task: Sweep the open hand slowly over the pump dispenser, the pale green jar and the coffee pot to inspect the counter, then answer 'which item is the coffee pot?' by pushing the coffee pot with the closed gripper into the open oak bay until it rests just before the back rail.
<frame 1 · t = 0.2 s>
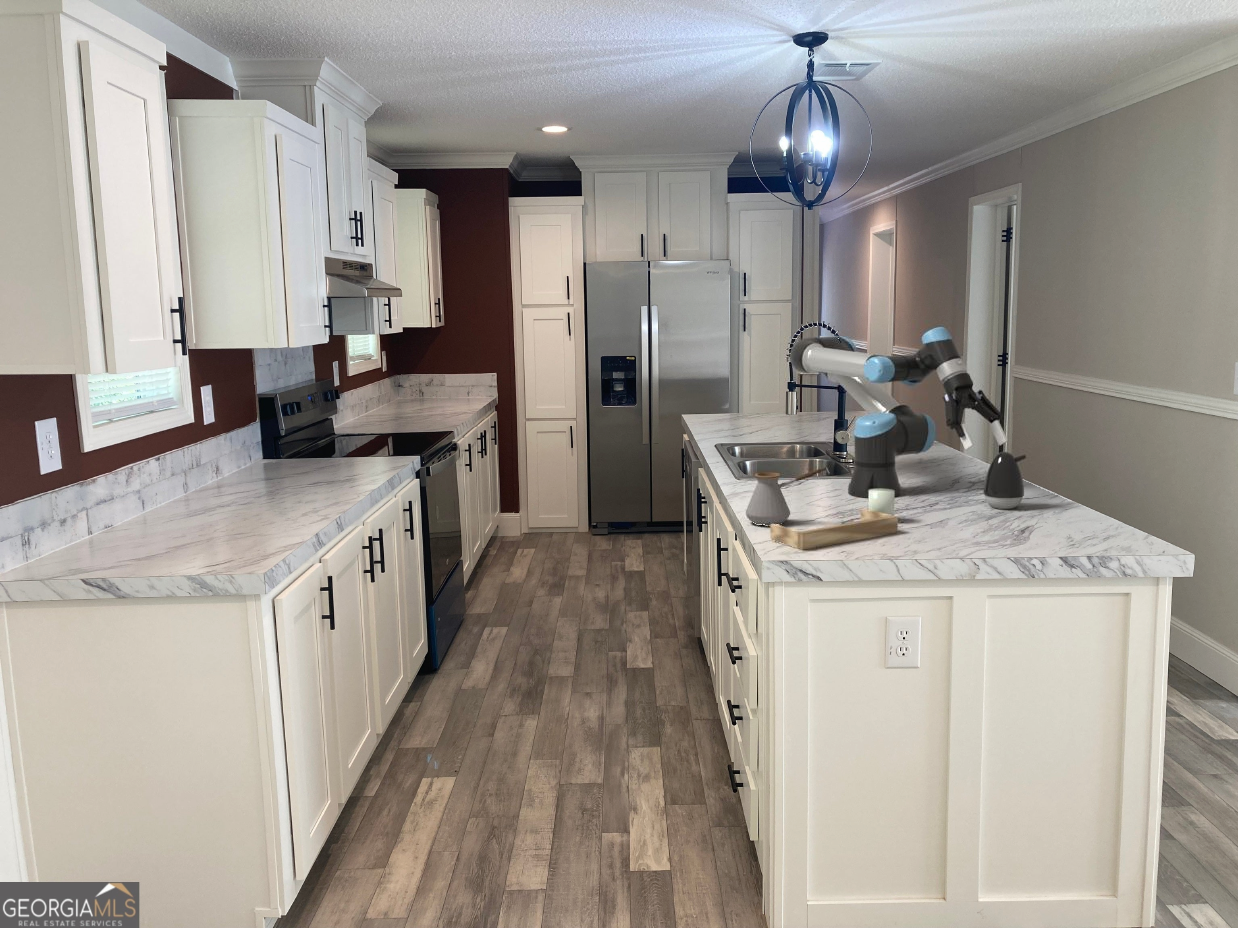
hand: (987, 445, 255), 16 cm above the worktop, tool tilted 35°, fingers open, 13 cm apart
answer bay: (835, 536, 225), on the worktop
pump dispenser: (1003, 508, 252), on the worktop
green jar: (881, 521, 240), on the worktop
coffee pot: (787, 524, 241), on the worktop
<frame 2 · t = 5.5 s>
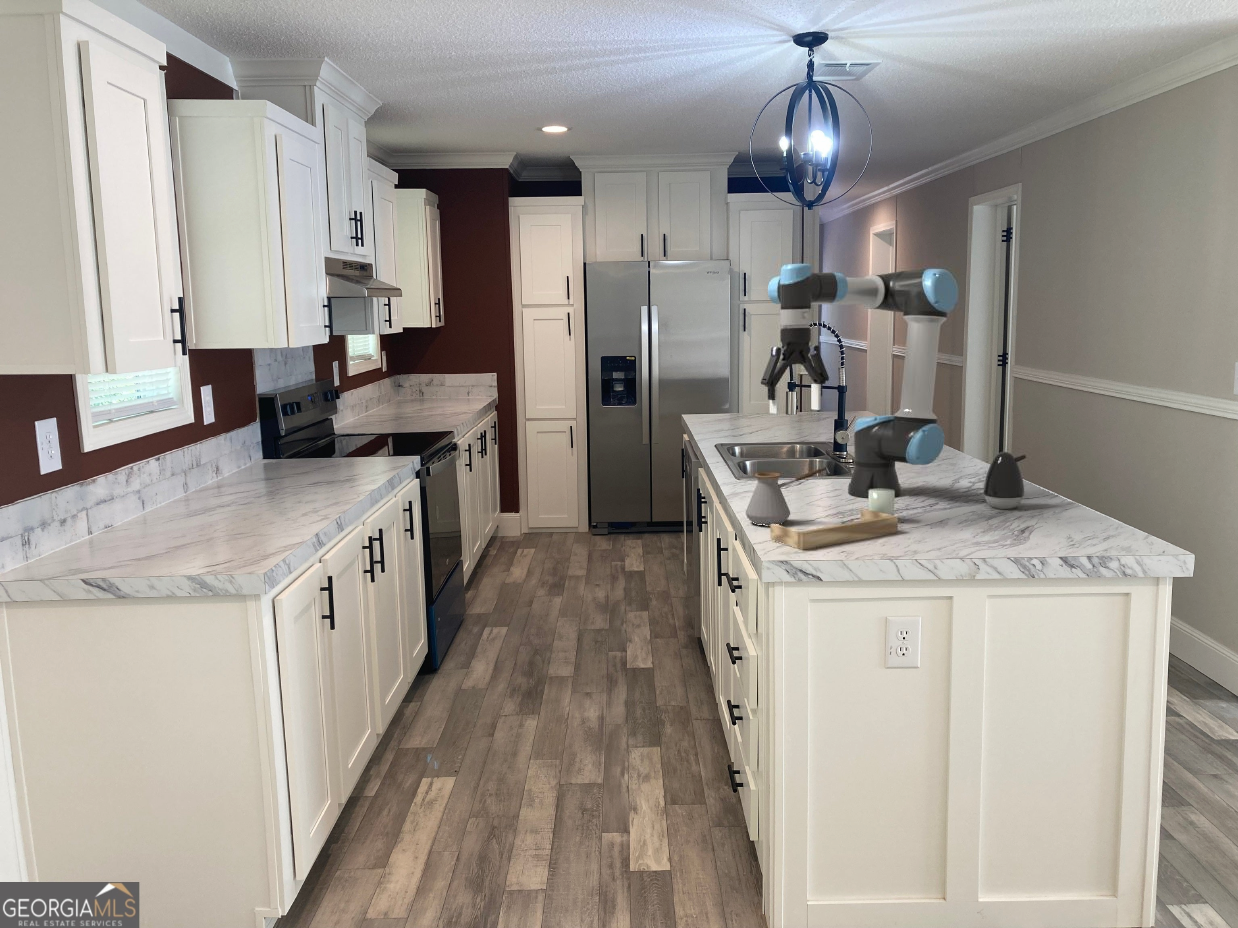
hand: (795, 411, 237), 29 cm above the worktop, tool pointing down, fingers open, 13 cm apart
nothing on the worktop moved.
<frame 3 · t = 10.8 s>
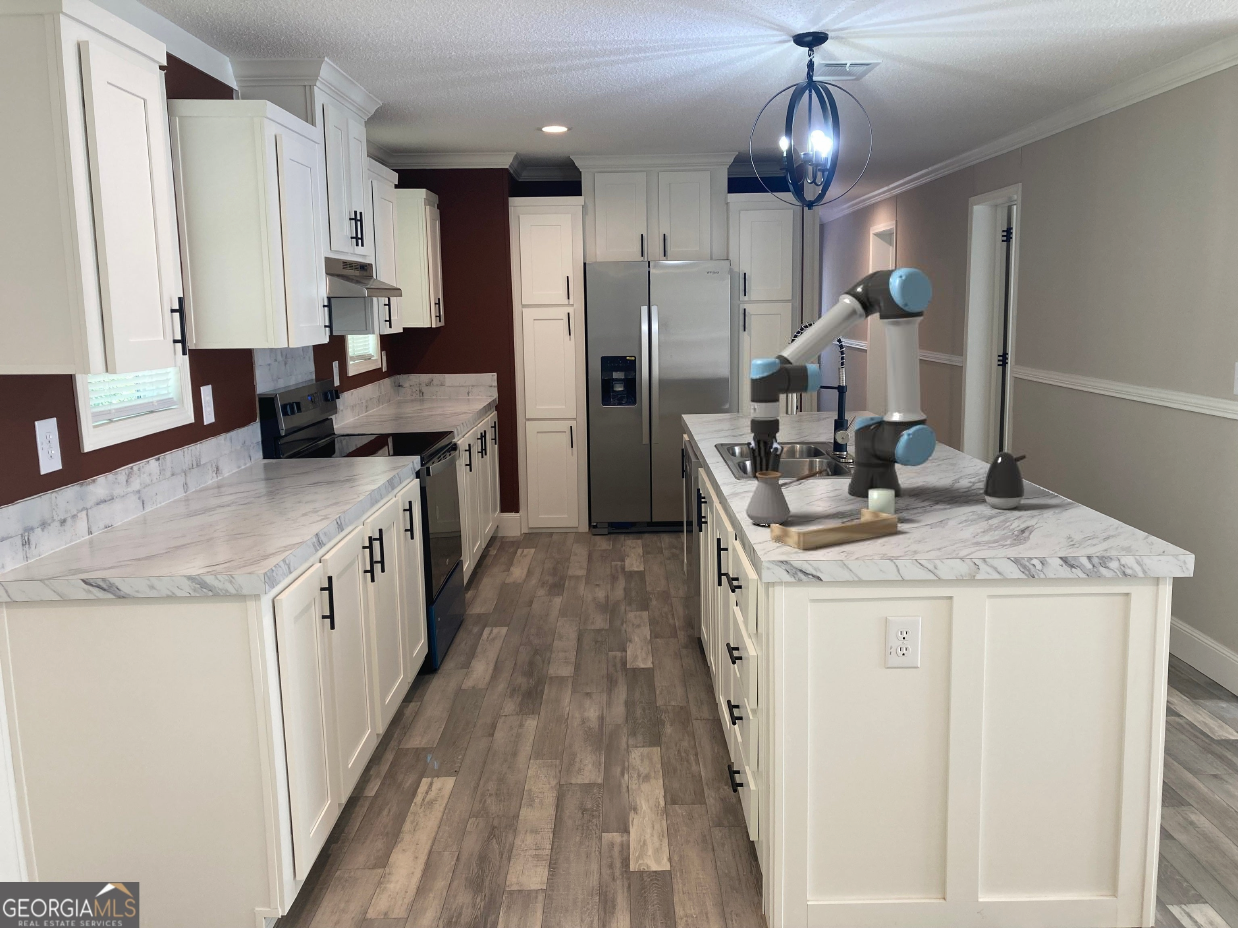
hand: (764, 506, 248), 3 cm above the worktop, tool pointing down, fingers closed
coffee pot: (787, 523, 241), on the worktop, touching gripper, hand
everything else where it was.
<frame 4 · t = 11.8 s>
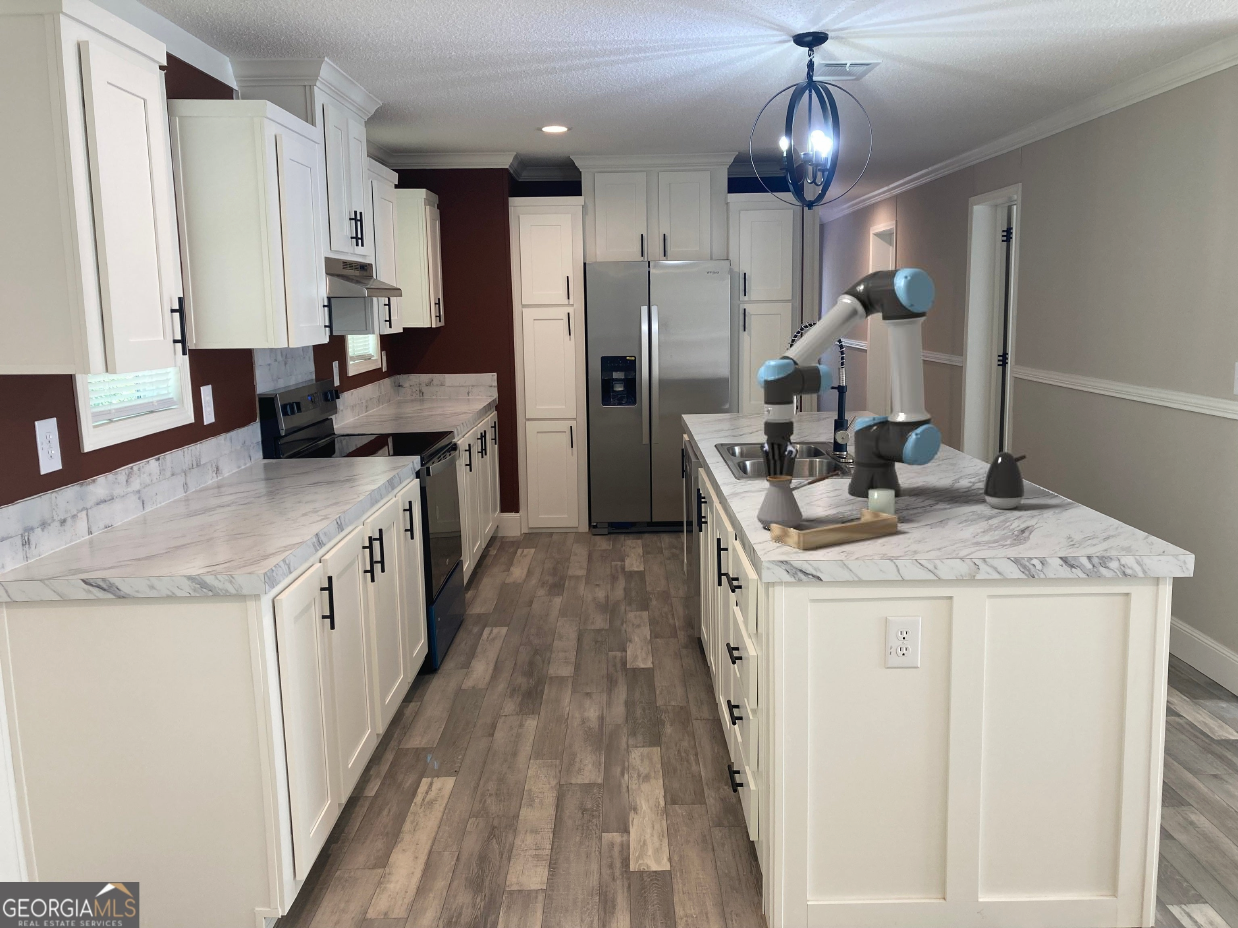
hand: (778, 510, 243), 3 cm above the worktop, tool pointing down, fingers closed
coffee pot: (799, 529, 235), on the worktop, touching gripper
everything else where it was.
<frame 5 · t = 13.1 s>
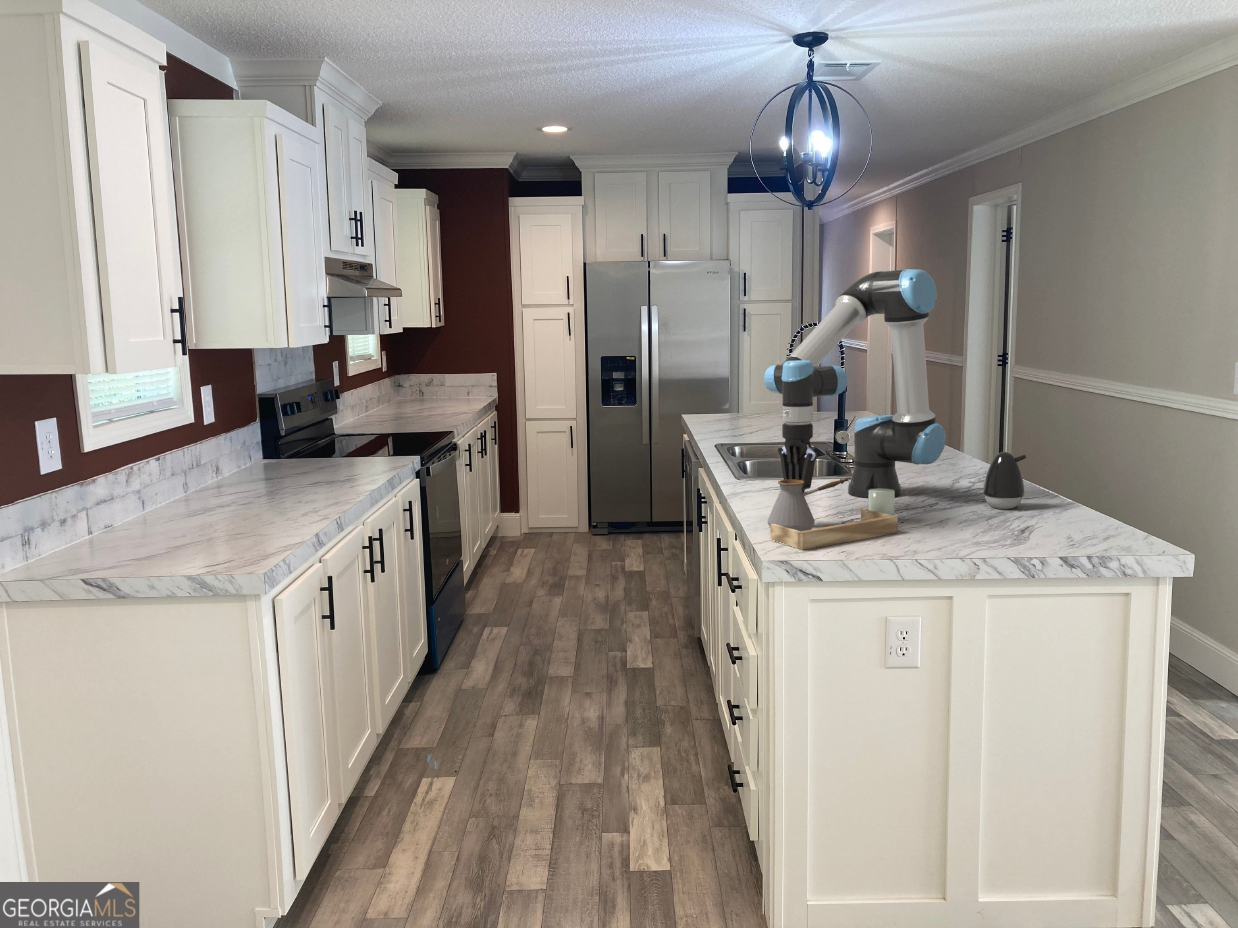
hand: (797, 514, 237), 3 cm above the worktop, tool pointing down, fingers closed
coffee pot: (809, 535, 228), on the worktop, touching gripper
everything else where it was.
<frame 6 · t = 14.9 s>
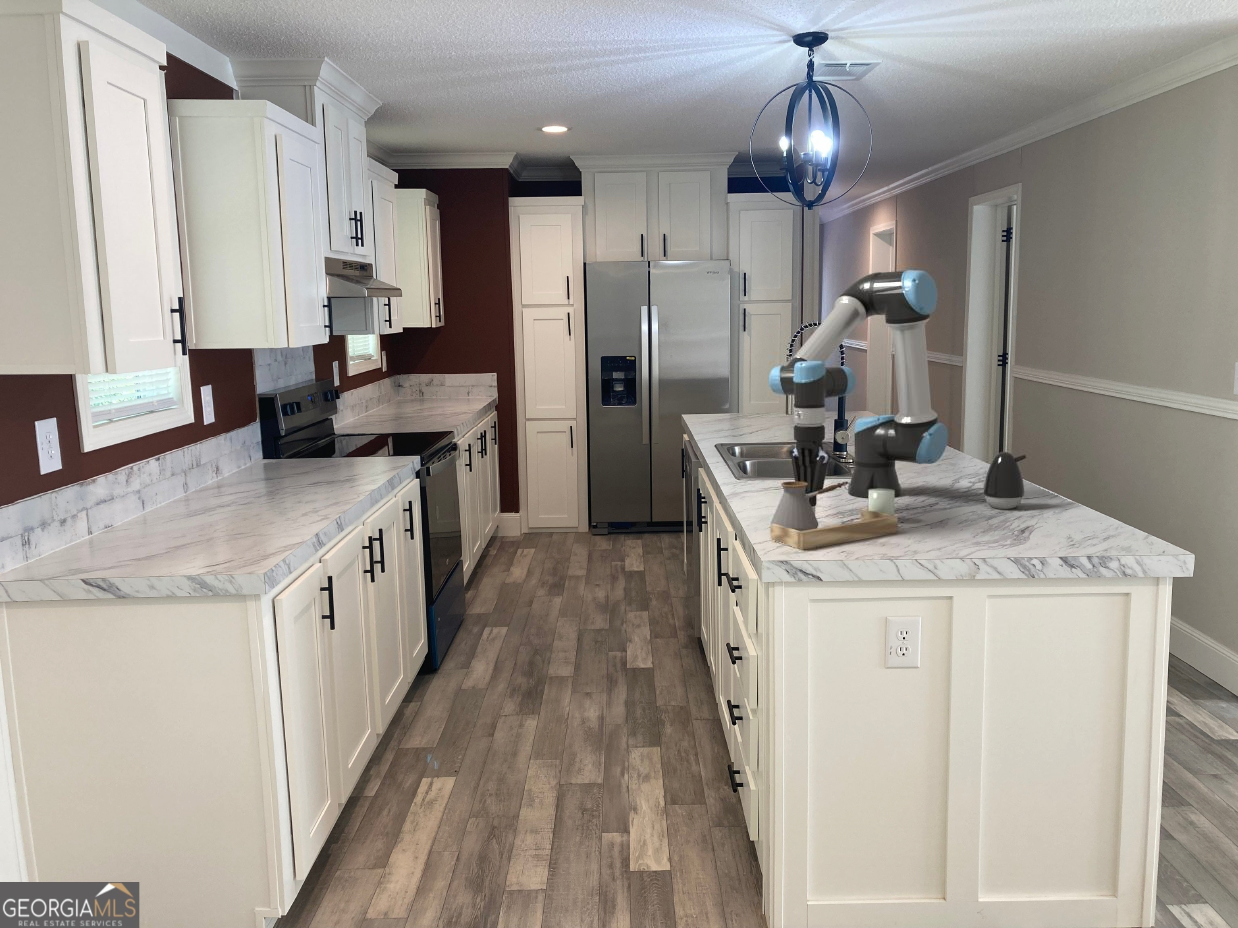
hand: (809, 518, 233), 3 cm above the worktop, tool pointing down, fingers closed
coffee pot: (811, 539, 224), on the worktop, touching gripper
everything else where it was.
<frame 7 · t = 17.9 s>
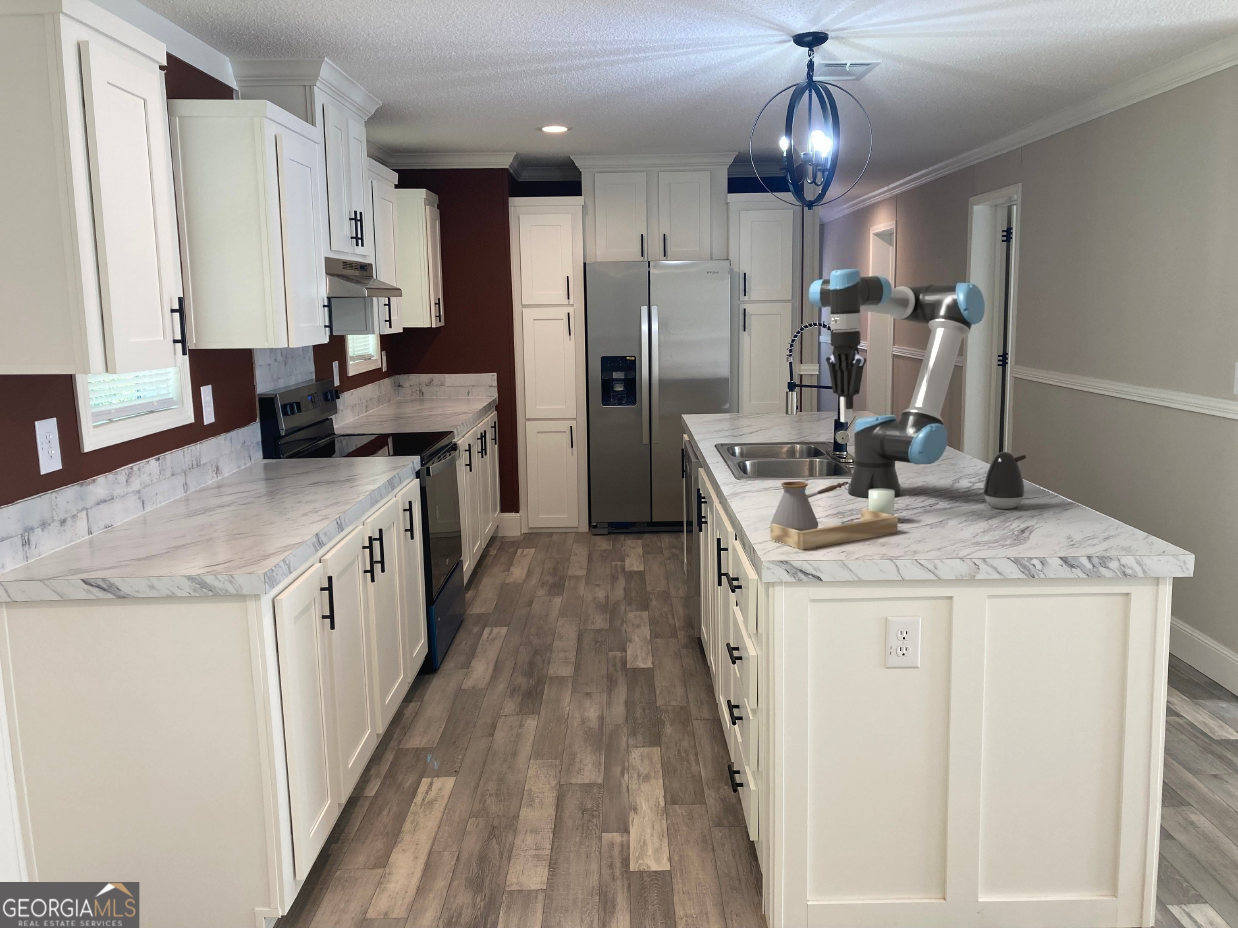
hand: (846, 421, 244), 25 cm above the worktop, tool pointing down, fingers closed
coffee pot: (811, 539, 224), on the worktop
everything else where it was.
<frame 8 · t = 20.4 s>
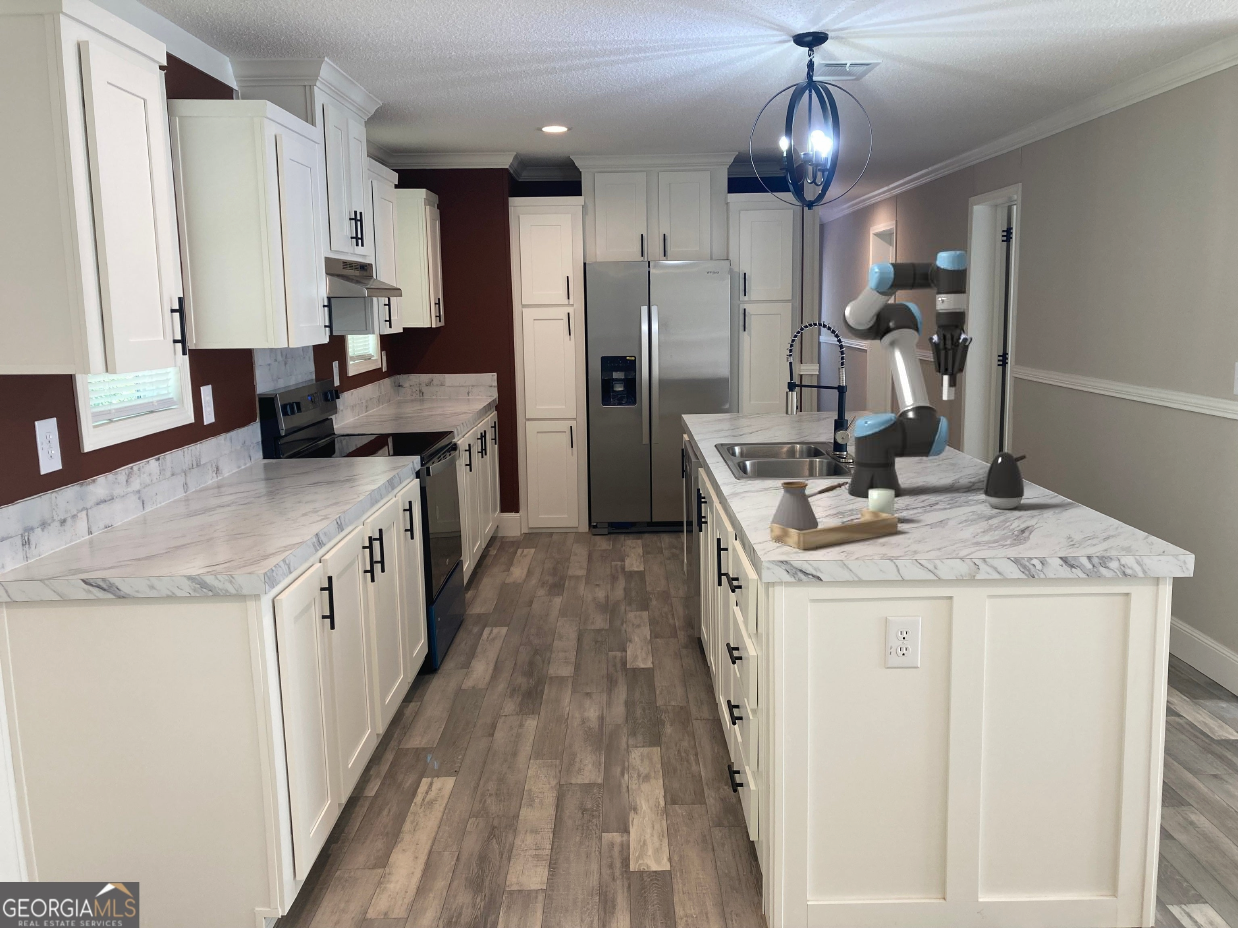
hand: (948, 399, 251), 29 cm above the worktop, tool pointing down, fingers closed
nothing on the worktop moved.
at the end: coffee pot inside the target area (5.7 cm from its centre), on the worktop; coffee pot tilted 0°; coffee pot moved 16.9 cm from its start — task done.
